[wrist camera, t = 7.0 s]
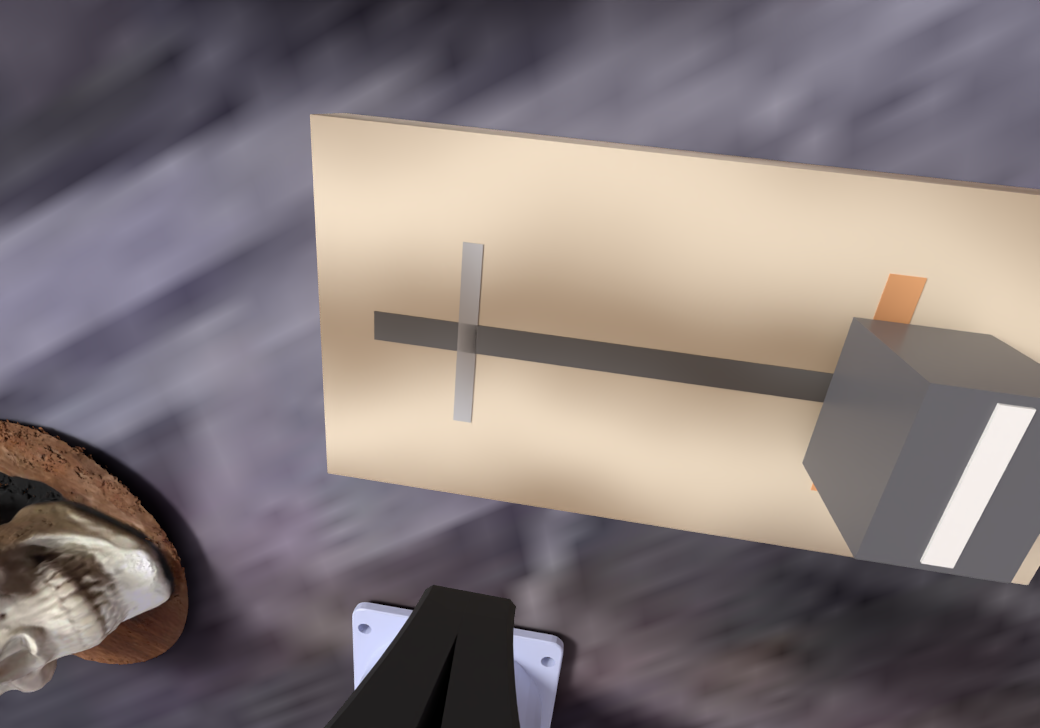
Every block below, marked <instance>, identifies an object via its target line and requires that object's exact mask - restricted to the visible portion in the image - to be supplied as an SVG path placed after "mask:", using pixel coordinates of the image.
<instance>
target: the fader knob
mask: <svg viewBox="0 0 1040 728" xmlns="http://www.w3.org/2000/svg"><path fill="white" fill-rule="evenodd" d="M802 464H803V466H804V467H805V469H806V471H807V473H808V475H809V476H810V478H811V480H812V482H813V484H814V486H815V487H816V489H817V491H818V493H819V495H820V496H821V498H822V500H823V502H824V504H825V506H826V507H827V509H828V511H829V513H830V515H831V517H832V518H833V520H834V522H835V524H836V526H837V527H838V529H839V531H840V533H841V535H842V537H843V538H844V540H845V542H846V544H847V546H848V547H849V549H850V551H851V553H852V555H853V557H854V558H855V559H859V560H866V561H872V562H878V563H884V564H891V565H897V566H903V567H909V568H916V569H922V570H928V571H934V572H940V573H947V574H953V575H959V576H965V577H972V578H978V579H984V580H990V581H997V582H1003V583H1009V584H1010V583H1011V582H1012V580H1013V578H1014V577H1015V575H1016V573H1017V571H1018V570H1019V568H1020V566H1021V565H1022V563H1023V561H1024V559H1025V558H1026V556H1027V554H1028V553H1029V551H1030V549H1031V548H1032V546H1033V544H1034V542H1035V541H1036V539H1037V537H1038V536H1039V534H1040V364H1039V363H1038V362H1036V361H1034V360H1033V359H1031V358H1029V357H1028V356H1026V355H1024V354H1023V353H1021V352H1019V351H1018V350H1016V349H1014V348H1013V347H1011V346H1009V345H1008V344H1006V343H1004V342H1003V341H1001V340H999V339H998V338H996V337H994V336H993V335H990V334H982V333H974V332H966V331H959V330H951V329H943V328H935V327H928V326H920V325H912V324H904V323H897V322H889V321H881V320H873V319H866V318H858V317H853V320H852V323H851V325H850V328H849V331H848V334H847V337H846V340H845V343H844V345H843V348H842V351H841V354H840V357H839V360H838V362H837V365H836V368H835V371H834V374H833V377H832V380H831V382H830V385H829V388H828V391H827V394H826V397H825V399H824V402H823V405H822V408H821V411H820V414H819V417H818V419H817V422H816V425H815V428H814V431H813V434H812V436H811V439H810V442H809V445H808V448H807V451H806V453H805V456H804V459H803V462H802Z"/></svg>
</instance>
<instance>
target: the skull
mask: <svg viewBox="0 0 1040 728" xmlns="http://www.w3.org/2000/svg"><path fill="white" fill-rule="evenodd" d="M32 427H33V426H32ZM39 429H40V430H41V432H39V431H38V429H35V428H34V427H33V429H31V428H29V426H27V427H26V426H22V425H20V424H19V423H18V422H17V424H15V423H9V421H8V420H7V422H2V421H0V695H2V694H3V693H4V692H6V691H9V690H14V689H15V690H20V691H22V692H33V691H36V690H39V689H41V688H42V687H43V686H44V685H45V684H46V683H47V682H49V681H50V680H51V678H52V676H53V674H54V671H55V669H56V666H57V660H56V659H58V658H60V657H63V656H66V655H70V654H72V655H76V656H78V657H81V658H83V659H85V660H92V661H97V662H101V663H108V664H119V665H120V664H128V663H130V664H132V663H137V662H141V661H142V662H145V661H147V660H149V659H152V658H154V657H156V656H159V655H160V654H162V653H164V652H166V651H167V650H168V649H169V648H171V647H172V646H173V645H174V643H175V642H176V641H177V640H178V638H179V637H180V635H181V633H182V632H183V630H184V626H185V623H186V619H187V613H188V594H187V592H188V590H187V584H186V578H185V573H184V567H181V564H180V562H179V560H180V561H181V559H180V557H179V556H178V554H177V551H176V549H175V547H174V546H173V543H170V541H168V540H169V538H168V537H167V536H166V534H165V532H164V531H163V529H161V528H160V525H159V524H158V523H157V522H156V520H155V519H154V518H153V515H151V514H149V513H148V512H147V511H146V510H145V508H144V507H143V506H142V505H141V504H140V503H141V501H140V500H138V497H137V496H135V497H134V495H133V494H131V493H130V492H129V491H128V490H129V488H128V490H127V486H125V485H122V484H121V482H122V481H119V482H120V483H119V482H118V481H117V479H118V478H117V477H115V476H112V473H111V475H110V474H108V472H107V470H106V469H105V468H104V469H103V468H102V467H100V465H98V464H96V463H95V462H94V460H93V459H92V457H91V454H90V455H89V456H88V457H87V456H86V455H85V454H84V453H81V452H83V450H85V448H84V447H82V449H83V450H82V449H81V447H78V446H75V447H76V448H77V449H76V448H74V447H73V448H71V447H70V446H68V444H67V443H66V442H64V441H61V439H60V438H59V436H56V438H59V440H58V439H56V438H54V437H52V436H50V435H49V434H48V432H47V433H46V432H44V430H43V428H41V427H39ZM105 466H106V465H105ZM66 467H67V468H66ZM78 468H79V469H78ZM106 468H108V467H106ZM127 498H128V499H127ZM175 585H176V586H175ZM146 655H147V656H146ZM156 658H157V657H156Z"/></svg>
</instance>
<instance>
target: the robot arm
mask: <svg viewBox="0 0 1040 728" xmlns="http://www.w3.org/2000/svg"><path fill="white" fill-rule="evenodd" d="M515 608H516V606H515V605H514V604H513V602H512V601H511V600H510V599H506V598H500V597H495V596H489V595H484V594H479V593H473V592H468V591H463V590H457V589H452V588H447V587H441V586H436V585H433V586H431V587H429V588H427V589H426V590H425V592H424V593H423V595H422V597H421V599H420V600H419V602H418V604H417V605H416V607H415V608H414V610H409V609H403V608H398V607H392V606H386V605H381V604H375V603H369V602H362V603H359V604H358V605H357V606H356V608H355V610H354V612H353V615H352V624H353V654H354V685H355V691H354V692H353V693H352V694H351V696H350V697H349V698H348V700H347V701H346V702H345V703H344V705H343V706H342V707H341V708H340V709H339V711H338V712H337V713H336V714H335V715H334V717H333V718H332V719H331V720H330V721H329V722H328V724H327V725H326V726H325V727H324V728H550V725H551V719H552V714H553V708H554V703H555V697H556V691H557V686H558V680H559V675H560V669H561V663H562V658H563V650H564V645H563V642H562V640H561V639H560V638H558V637H557V636H554V635H550V634H544V633H539V632H533V631H527V630H522V629H516V628H514V615H515ZM366 624H367V625H366ZM547 657H550V658H547Z"/></svg>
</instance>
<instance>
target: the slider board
mask: <svg viewBox="0 0 1040 728" xmlns="http://www.w3.org/2000/svg"><path fill="white" fill-rule="evenodd" d="M310 123H311V144H312V164H313V184H314V204H315V225H316V245H317V265H318V285H319V306H320V326H321V346H322V367H323V387H324V407H325V427H326V448H327V468H328V473H330V474H337V475H343V476H349V477H355V478H362V479H368V480H374V481H380V482H387V483H393V484H399V485H405V486H412V487H418V488H424V489H430V490H437V491H443V492H449V493H455V494H462V495H468V496H474V497H480V498H486V499H493V500H499V501H505V502H511V503H518V504H524V505H530V506H536V507H543V508H549V509H555V510H561V511H568V512H574V513H580V514H586V515H593V516H599V517H605V518H611V519H618V520H624V521H630V522H636V523H643V524H649V525H655V526H661V527H668V528H674V529H680V530H686V531H693V532H699V533H705V534H711V535H718V536H724V537H730V538H736V539H742V540H749V541H755V542H761V543H767V544H774V545H780V546H786V547H792V548H799V549H805V550H811V551H817V552H824V553H830V554H836V555H842V556H849V557H853V555H852V553H851V551H850V549H849V547H848V546H847V544H846V542H845V540H844V538H843V537H842V535H841V533H840V531H839V529H838V527H837V526H836V524H835V522H834V520H833V518H832V517H831V515H830V513H829V511H828V509H827V507H826V506H825V504H824V502H823V500H822V498H821V496H820V495H819V493H818V491H817V489H816V487H815V486H814V484H813V482H812V480H811V478H810V476H809V475H808V473H807V471H806V469H805V467H804V466H803V464H802V462H803V459H804V456H805V453H806V451H807V448H808V445H809V442H810V439H811V436H812V434H813V431H814V428H815V425H816V422H817V419H818V417H819V414H820V411H821V408H822V405H823V402H824V399H825V397H826V394H827V391H828V388H829V385H830V382H831V380H832V377H833V374H834V371H835V368H836V365H837V362H838V360H839V357H840V354H841V351H842V348H843V345H844V343H845V340H846V337H847V334H848V331H849V328H850V325H851V323H852V320H853V317H858V318H866V319H873V320H881V321H889V322H897V323H904V324H912V325H920V326H928V327H935V328H943V329H951V330H959V331H966V332H974V333H982V334H990V335H993V336H994V337H996V338H998V339H999V340H1001V341H1003V342H1004V343H1006V344H1008V345H1009V346H1011V347H1013V348H1014V349H1016V350H1018V351H1019V352H1021V353H1023V354H1024V355H1026V356H1028V357H1029V358H1031V359H1033V360H1034V361H1036V362H1038V363H1039V364H1040V189H1031V188H1022V187H1013V186H1004V185H995V184H985V183H976V182H967V181H958V180H949V179H940V178H931V177H922V176H913V175H904V174H894V173H885V172H876V171H867V170H858V169H849V168H840V167H831V166H822V165H813V164H803V163H794V162H785V161H776V160H767V159H758V158H749V157H740V156H731V155H722V154H712V153H703V152H694V151H685V150H676V149H667V148H658V147H649V146H640V145H631V144H621V143H612V142H603V141H594V140H585V139H576V138H567V137H558V136H549V135H540V134H531V133H521V132H512V131H503V130H494V129H485V128H476V127H467V126H458V125H449V124H440V123H430V122H421V121H412V120H403V119H394V118H385V117H376V116H367V115H358V114H349V113H334V114H311V115H310ZM1039 566H1040V534H1039V536H1038V537H1037V539H1036V541H1035V542H1034V544H1033V546H1032V548H1031V549H1030V551H1029V553H1028V554H1027V556H1026V558H1025V559H1024V561H1023V563H1022V565H1021V566H1020V568H1019V570H1018V571H1017V573H1016V575H1015V577H1014V578H1013V580H1012V582H1011V583H1017V584H1023V585H1028V584H1029V582H1030V581H1031V579H1032V578H1033V576H1034V574H1035V573H1036V571H1037V569H1038V568H1039Z"/></svg>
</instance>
